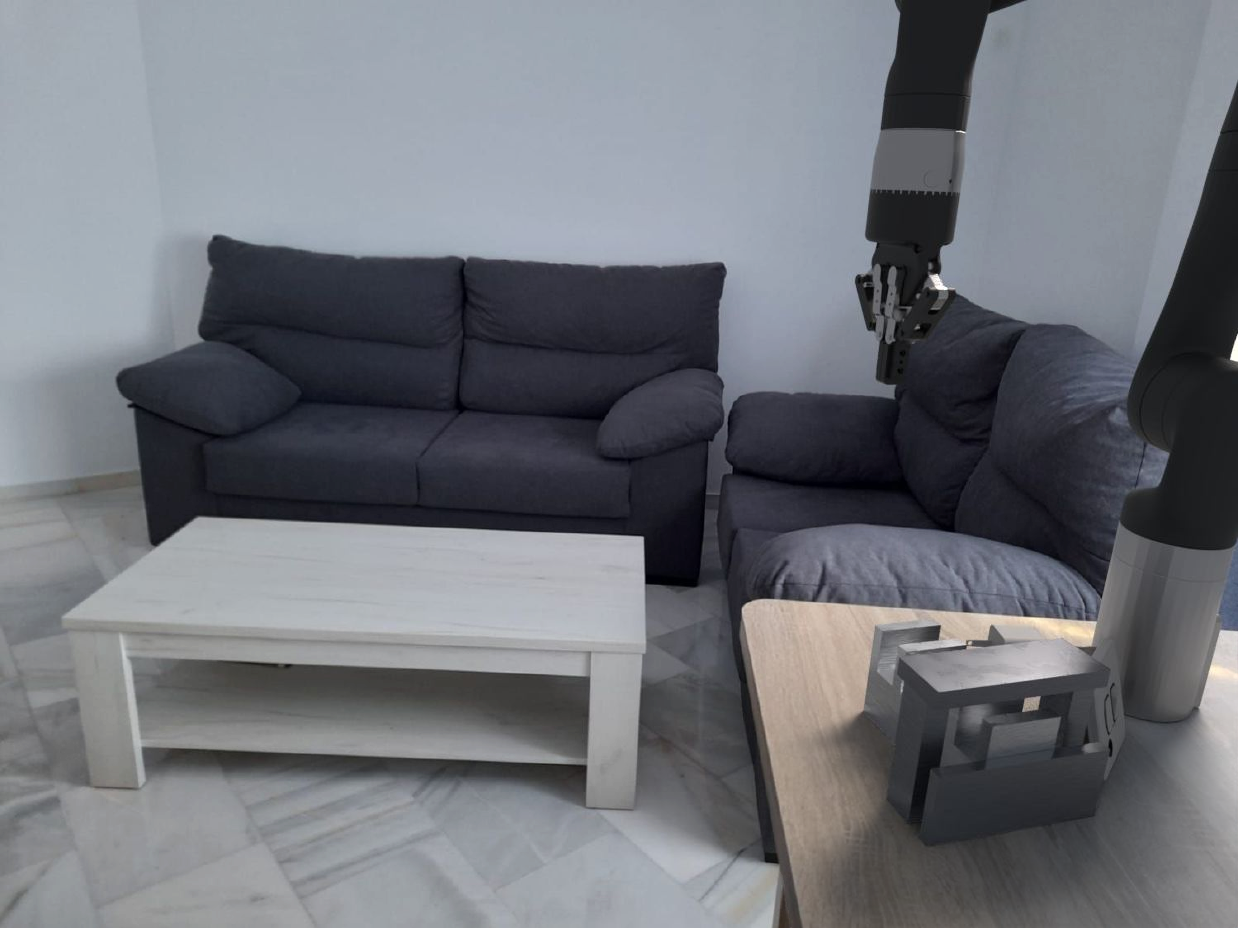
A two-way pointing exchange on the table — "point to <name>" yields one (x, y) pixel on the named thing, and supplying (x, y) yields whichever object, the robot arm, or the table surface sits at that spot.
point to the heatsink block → (968, 727)
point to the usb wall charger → (1008, 635)
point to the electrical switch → (1106, 705)
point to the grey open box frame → (1005, 785)
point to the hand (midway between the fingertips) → (889, 382)
